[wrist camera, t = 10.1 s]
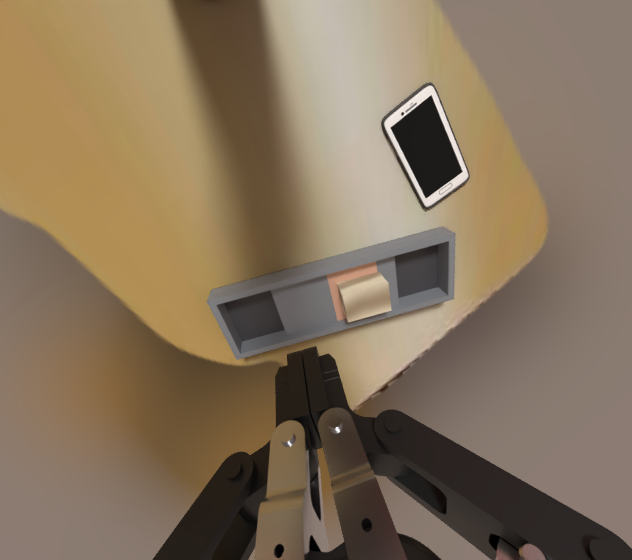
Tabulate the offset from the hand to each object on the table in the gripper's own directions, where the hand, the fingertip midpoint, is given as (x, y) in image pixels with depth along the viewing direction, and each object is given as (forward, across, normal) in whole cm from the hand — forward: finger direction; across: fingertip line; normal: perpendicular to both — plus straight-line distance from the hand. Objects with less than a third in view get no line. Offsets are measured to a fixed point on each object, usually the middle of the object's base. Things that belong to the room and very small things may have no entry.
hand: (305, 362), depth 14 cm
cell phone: (+30, -22, -4) cm, 37 cm away
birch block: (+27, -9, +14) cm, 32 cm away
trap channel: (+29, -5, +14) cm, 33 cm away
